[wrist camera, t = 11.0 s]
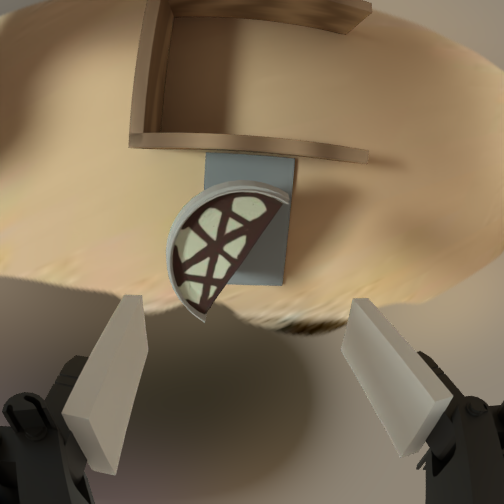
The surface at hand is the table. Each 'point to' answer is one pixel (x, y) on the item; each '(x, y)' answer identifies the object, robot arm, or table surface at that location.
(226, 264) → the food container
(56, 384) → the robot arm
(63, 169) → the table surface
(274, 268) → the pad
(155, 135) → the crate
